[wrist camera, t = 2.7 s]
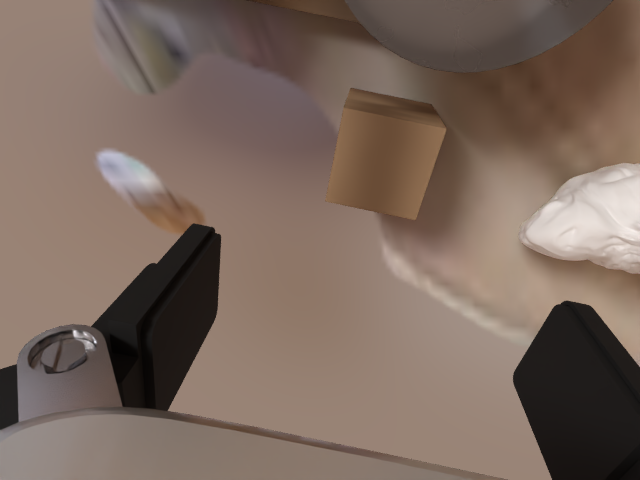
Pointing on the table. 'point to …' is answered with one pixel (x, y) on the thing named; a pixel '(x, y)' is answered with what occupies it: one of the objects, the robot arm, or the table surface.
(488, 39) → the balance
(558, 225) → the bust
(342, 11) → the balance base
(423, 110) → the walnut block
